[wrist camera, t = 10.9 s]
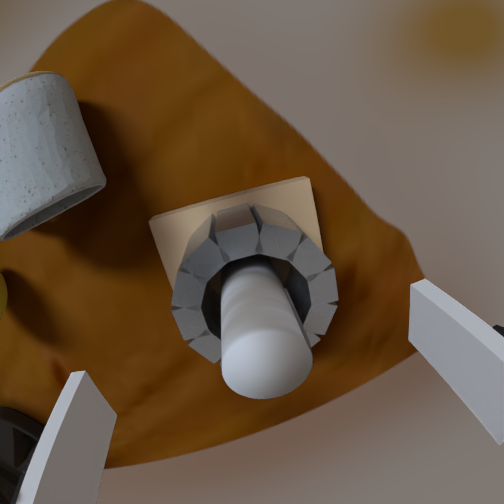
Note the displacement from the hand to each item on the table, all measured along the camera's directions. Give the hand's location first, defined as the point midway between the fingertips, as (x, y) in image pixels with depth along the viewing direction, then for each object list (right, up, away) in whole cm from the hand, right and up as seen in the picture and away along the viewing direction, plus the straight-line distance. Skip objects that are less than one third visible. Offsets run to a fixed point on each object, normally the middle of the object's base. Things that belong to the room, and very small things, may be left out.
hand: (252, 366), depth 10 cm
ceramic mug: (-14, +10, +7) cm, 19 cm away
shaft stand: (-1, +4, +10) cm, 11 cm away
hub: (0, +3, +8) cm, 9 cm away
